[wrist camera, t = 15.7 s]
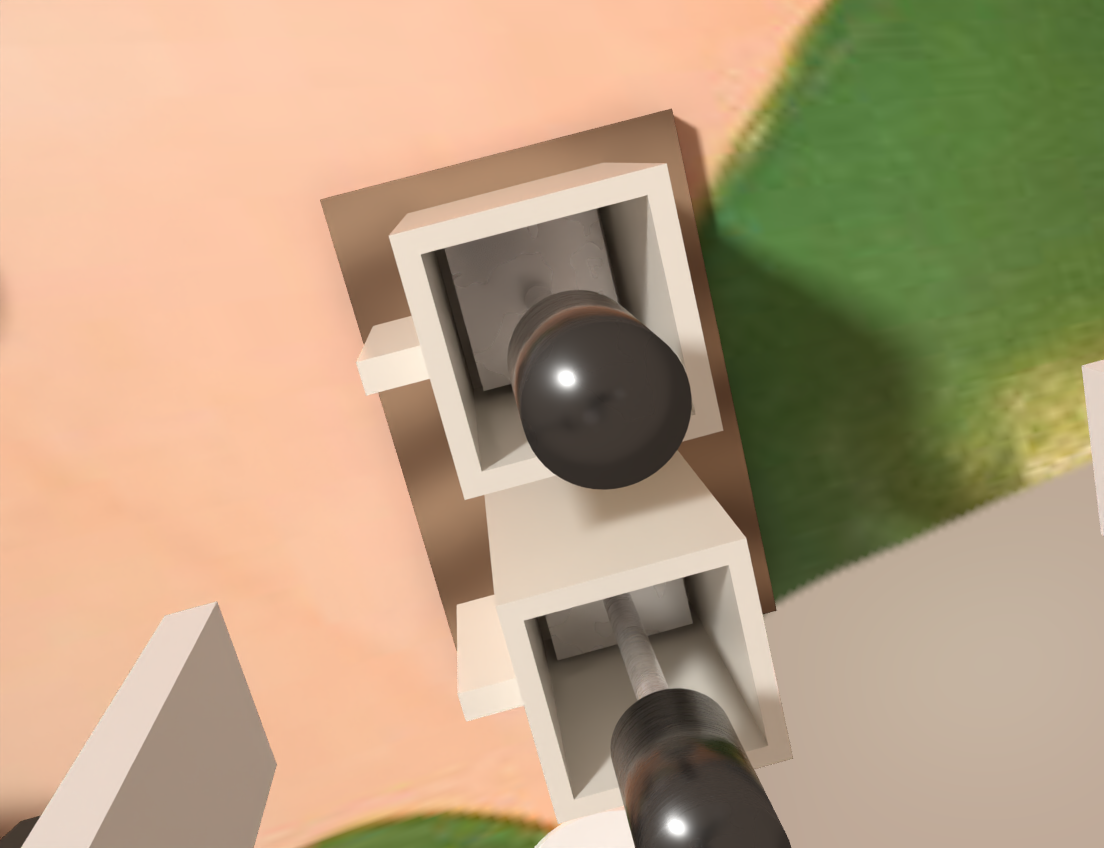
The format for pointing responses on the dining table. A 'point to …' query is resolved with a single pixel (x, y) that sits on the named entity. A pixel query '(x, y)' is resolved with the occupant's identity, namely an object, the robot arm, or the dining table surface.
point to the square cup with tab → (600, 676)
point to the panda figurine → (592, 832)
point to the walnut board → (412, 409)
